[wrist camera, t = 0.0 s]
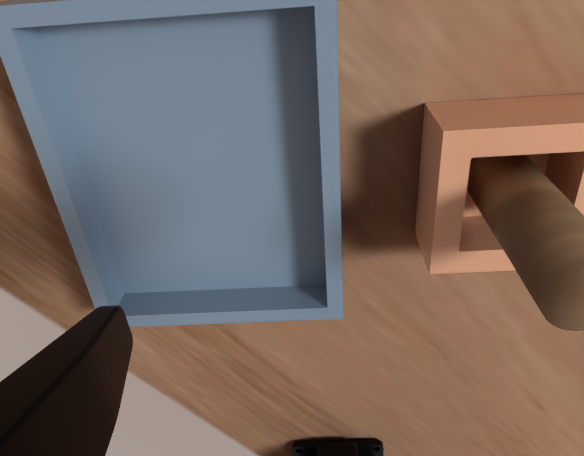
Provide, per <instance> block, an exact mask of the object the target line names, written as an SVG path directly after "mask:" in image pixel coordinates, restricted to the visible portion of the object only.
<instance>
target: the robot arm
mask: <svg viewBox="0 0 584 456" xmlns="http://www.w3.org/2000/svg"><path fill="white" fill-rule="evenodd" d="M132 347H133V338H132V334H131V330H130V327H129V324H128V321H127V318H126V315H125V312H124V310H123V308H122V307H121V306H119V305H108V306H100V307H98V308H96V309H95V310H93V311H92V312H91V313H90V314H88V315H87V316H86V317H84V318H83V319H82V320H80V321H79V322H78V323H77V324H75V325H74V326H73V327H71V328H70V329H69V330H67V331H66V332H65V333H64V334H62V335H61V336H60V337H58V338H57V339H56V340H54V341H53V342H52V343H50V344H49V345H48V346H47V347H45V348H44V349H43V350H42V351H40V352H39V353H38V354H36V355H35V356H34V357H32V358H31V359H30V360H28V361H27V362H26V363H24V364H23V365H22V366H21V367H19V368H18V369H17V370H16V371H14V372H13V373H12V374H10V375H9V376H8V377H6V378H5V379H4V380H2V381H1V382H0V456H105V454H106V451H107V448H108V445H109V442H110V439H111V436H112V433H113V430H114V427H115V423H116V420H117V416H118V412H119V408H120V404H121V399H122V394H123V389H124V385H125V380H126V375H127V371H128V366H129V361H130V357H131V352H132ZM292 453H293V456H383V443H382V441H380V440H343V441H303V442H295V443H294V444H293V446H292Z"/></svg>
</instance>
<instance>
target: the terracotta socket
mask: <svg viewBox="0 0 584 456" xmlns="http://www.w3.org/2000/svg"><path fill="white" fill-rule="evenodd" d="M510 155H526V156H527V157H528V158H529V159H530V160H531V161H532V162H533V163H534V164H535V165H536V166H537V167H538V168H539V169H540V171H541V172H542V173H543V174H544V175H545V176H546V177H547V178H548V179H549V180H550V181H551V182H552V183H553V184H554V185H555V186H556V187H557V188H558V189H559V190H560V191H561V192H562V193H563V194H564V196H565V197H566V198H567V199H568V200H569V201H570V202H571V203H572V204H573V205H574V206H575V207H576V208H577V209H578V210H579V211H580V212H581V213H582V214H583V215H584V93H578V94H562V95H546V96H531V97H515V98H499V99H483V100H467V101H451V102H435V103H425V106H424V119H423V133H422V146H421V160H420V174H419V187H418V201H417V214H416V228H415V235H416V237H417V240H418V243H419V246H420V249H421V251H422V254H423V257H424V260H425V263H426V265H427V268H428V271H429V274H440V273H463V272H486V271H509V270H515V268H514V266H513V265H512V263H511V261H510V260H509V258H508V257H507V255H506V253H505V252H504V250H503V248H502V247H501V245H500V244H499V242H498V240H497V239H496V237H495V235H494V234H493V232H492V230H491V229H490V227H489V226H488V224H487V222H486V221H485V219H484V217H483V216H482V214H481V212H480V211H479V209H478V208H477V206H476V204H475V203H474V201H473V199H472V198H471V196H470V194H469V193H468V191H467V184H468V177H469V169H470V162H471V159H472V158H475V157H493V156H510Z"/></svg>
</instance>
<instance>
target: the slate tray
mask: <svg viewBox="0 0 584 456" xmlns="http://www.w3.org/2000/svg"><path fill="white" fill-rule="evenodd" d="M0 56H1V59H2V62H3V64H4V67H5V70H6V72H7V75H8V78H9V80H10V83H11V86H12V88H13V91H14V94H15V96H16V99H17V102H18V104H19V107H20V110H21V112H22V115H23V118H24V120H25V123H26V126H27V128H28V131H29V134H30V136H31V139H32V142H33V144H34V147H35V150H36V152H37V155H38V158H39V160H40V163H41V166H42V168H43V171H44V174H45V176H46V179H47V182H48V184H49V187H50V190H51V192H52V195H53V198H54V200H55V203H56V206H57V208H58V211H59V214H60V216H61V219H62V222H63V224H64V227H65V230H66V232H67V235H68V238H69V240H70V243H71V246H72V248H73V251H74V254H75V256H76V259H77V262H78V264H79V267H80V270H81V272H82V275H83V278H84V280H85V283H86V286H87V288H88V291H89V294H90V296H91V299H92V302H93V304H94V307H95V309H96V308H98V307H100V306H108V305H119V306H121V307H122V308H123V310H124V312H125V315H126V318H127V321H128V324H129V327H144V326H170V325H195V324H221V323H247V322H272V321H298V320H324V319H343V281H342V233H341V186H340V139H339V92H338V45H337V0H7V1H4V2H0Z"/></svg>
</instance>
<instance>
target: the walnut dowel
mask: <svg viewBox="0 0 584 456" xmlns="http://www.w3.org/2000/svg"><path fill="white" fill-rule="evenodd" d="M467 191H468V193H469V194H470V196H471V198H472V199H473V201H474V203H475V204H476V206H477V208H478V209H479V211H480V212H481V214H482V216H483V217H484V219H485V221H486V222H487V224H488V226H489V227H490V229H491V230H492V232H493V234H494V235H495V237H496V239H497V240H498V242H499V244H500V245H501V247H502V248H503V250H504V252H505V253H506V255H507V257H508V258H509V260H510V261H511V263H512V265H513V266H514V268H515V270H516V271H517V273H518V275H519V276H520V278H521V279H522V281H523V283H524V284H525V286H526V288H527V289H528V291H529V293H530V294H531V296H532V297H533V299H534V301H535V302H536V304H537V306H538V307H539V309H540V311H541V312H542V314H543V315H544V317H545V318H546V320H547V321H548V322H549V323H551V324H552V325H554V326H556V327H558V328H561V329H565V330H571V331H581V330H584V215H583V214H582V213H581V212H580V211H579V210H578V209H577V208H576V207H575V206H574V205H573V204H572V203H571V202H570V201H569V200H568V199H567V198H566V197H565V196H564V194H563V193H562V192H561V191H560V190H559V189H558V188H557V187H556V186H555V185H554V184H553V183H552V182H551V181H550V180H549V179H548V178H547V177H546V176H545V175H544V174H543V173H542V172H541V171H540V169H539V168H538V167H537V166H536V165H535V164H534V163H533V162H532V161H531V160H530V159H529V158H528V157H527V156H526V155H510V156H493V157H475V158H472V159H471V162H470V169H469V177H468V184H467Z"/></svg>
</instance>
